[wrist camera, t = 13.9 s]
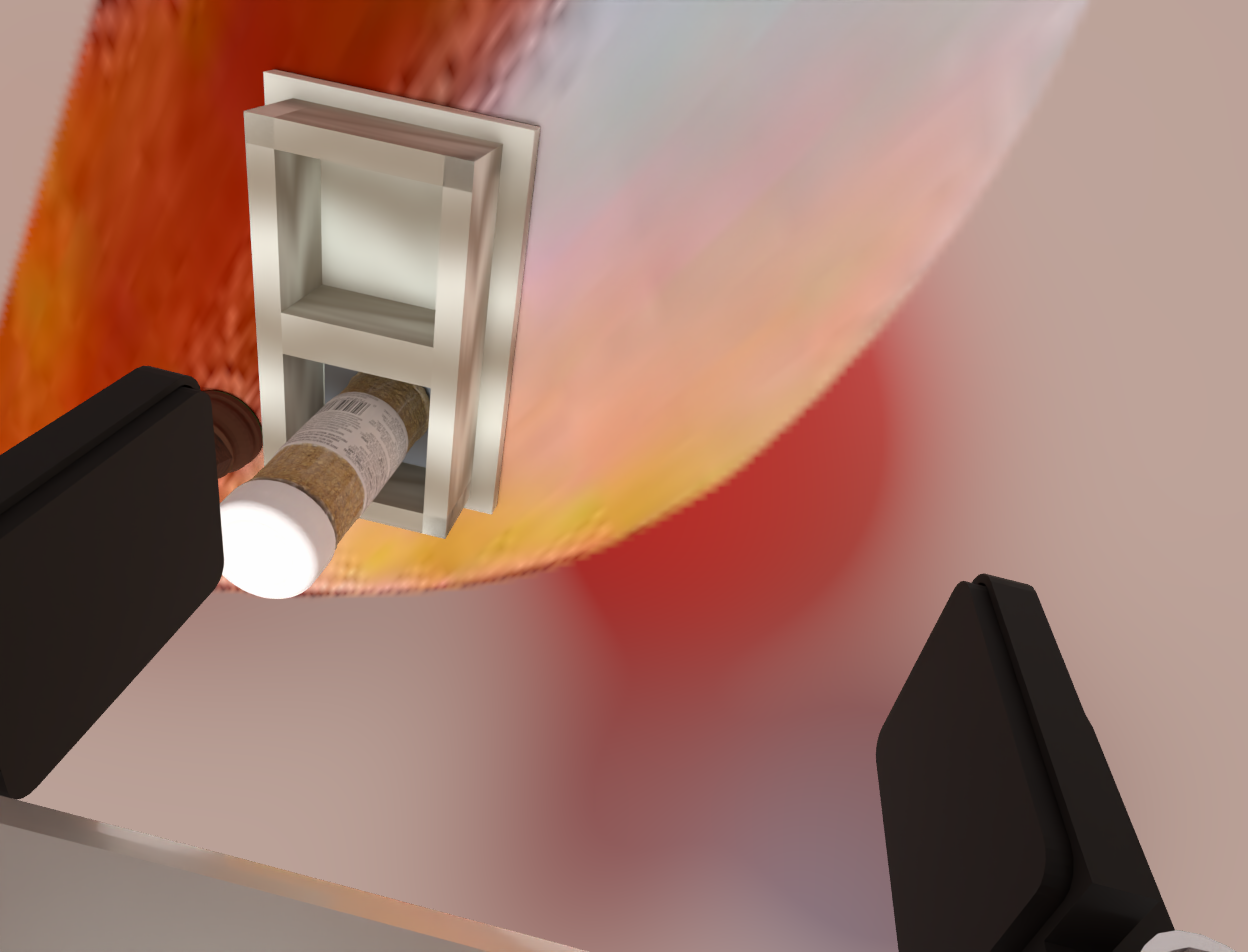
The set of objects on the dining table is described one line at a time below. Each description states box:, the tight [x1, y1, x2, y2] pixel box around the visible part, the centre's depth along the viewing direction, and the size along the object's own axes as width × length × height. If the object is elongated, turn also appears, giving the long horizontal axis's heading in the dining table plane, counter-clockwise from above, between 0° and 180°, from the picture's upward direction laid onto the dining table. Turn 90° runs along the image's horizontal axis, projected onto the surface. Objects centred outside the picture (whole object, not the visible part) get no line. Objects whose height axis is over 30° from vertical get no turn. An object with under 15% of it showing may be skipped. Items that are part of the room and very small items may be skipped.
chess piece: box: [203, 391, 263, 478], centre depth 43 cm, size 5×5×10 cm
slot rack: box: [244, 70, 540, 539], centre depth 40 cm, size 20×12×5 cm, turn 170°
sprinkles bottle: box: [220, 372, 430, 599], centre depth 38 cm, size 5×5×14 cm
